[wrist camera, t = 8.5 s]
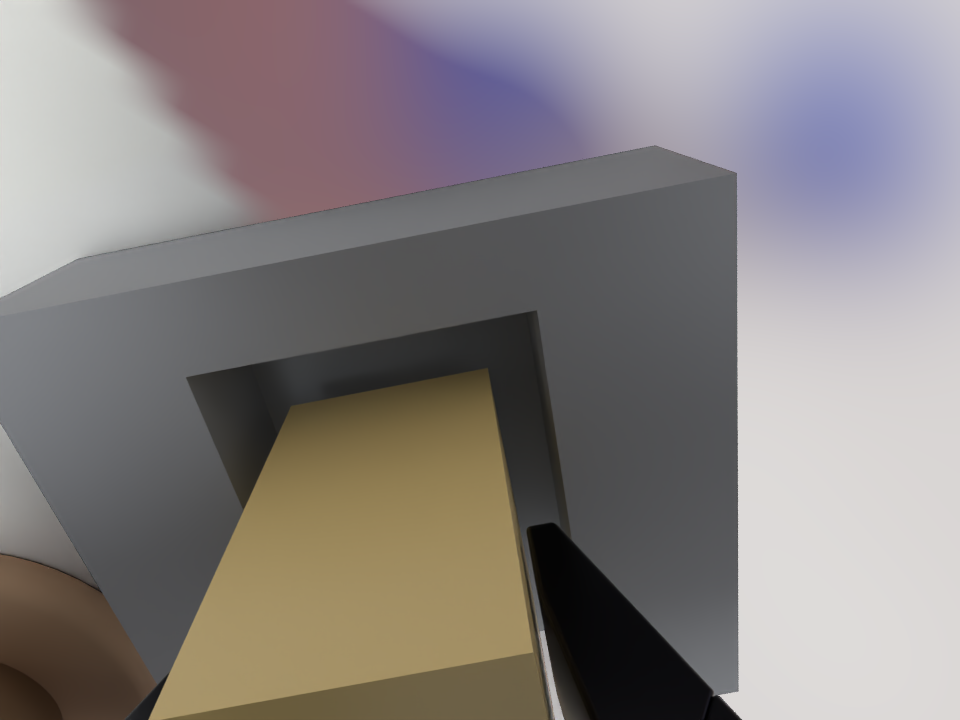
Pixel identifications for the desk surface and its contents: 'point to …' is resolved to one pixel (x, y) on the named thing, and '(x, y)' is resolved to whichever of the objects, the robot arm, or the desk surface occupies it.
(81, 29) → the desk surface
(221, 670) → the tan tab
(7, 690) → the bobbin
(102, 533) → the notch board
